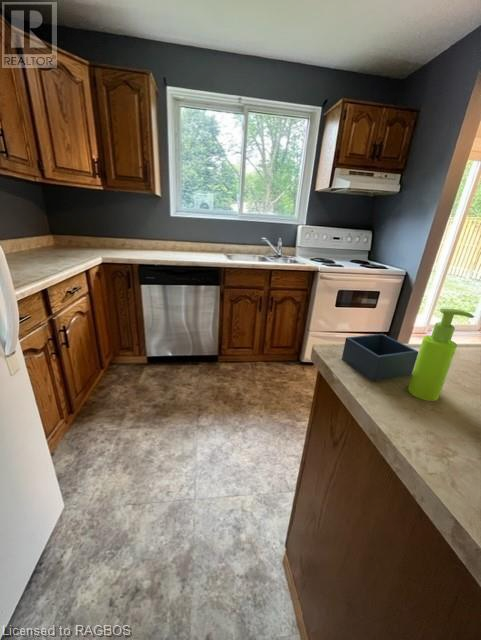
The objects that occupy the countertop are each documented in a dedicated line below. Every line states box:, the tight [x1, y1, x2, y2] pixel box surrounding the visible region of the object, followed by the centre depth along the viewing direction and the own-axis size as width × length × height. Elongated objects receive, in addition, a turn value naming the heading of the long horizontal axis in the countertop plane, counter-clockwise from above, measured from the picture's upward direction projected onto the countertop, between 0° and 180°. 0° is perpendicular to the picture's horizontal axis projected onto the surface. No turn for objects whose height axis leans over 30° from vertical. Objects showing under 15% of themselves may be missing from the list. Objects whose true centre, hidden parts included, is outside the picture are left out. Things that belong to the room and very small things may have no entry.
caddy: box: [341, 333, 419, 382], centre depth 71 cm, size 13×12×7 cm
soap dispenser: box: [407, 308, 476, 402], centre depth 58 cm, size 6×7×20 cm
